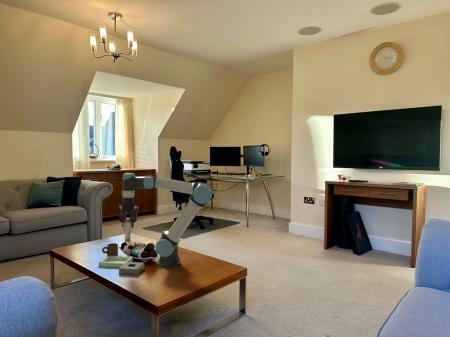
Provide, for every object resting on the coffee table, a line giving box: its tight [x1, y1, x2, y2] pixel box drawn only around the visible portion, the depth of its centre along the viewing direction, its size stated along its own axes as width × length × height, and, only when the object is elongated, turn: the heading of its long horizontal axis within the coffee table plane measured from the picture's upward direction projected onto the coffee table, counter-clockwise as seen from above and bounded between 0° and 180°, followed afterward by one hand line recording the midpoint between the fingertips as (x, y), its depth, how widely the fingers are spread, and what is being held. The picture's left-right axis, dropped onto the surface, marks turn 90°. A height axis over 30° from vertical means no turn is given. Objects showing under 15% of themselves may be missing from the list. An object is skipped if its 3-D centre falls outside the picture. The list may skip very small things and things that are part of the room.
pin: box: [124, 217, 132, 243], centre depth 201 cm, size 4×4×15 cm
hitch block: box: [118, 261, 145, 276], centre depth 199 cm, size 12×12×4 cm
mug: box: [101, 242, 119, 257], centre depth 224 cm, size 12×8×9 cm, turn 140°
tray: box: [98, 255, 134, 269], centre depth 212 cm, size 18×14×3 cm
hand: (127, 232), depth 201 cm, fingers closed on pin, 3 cm apart
